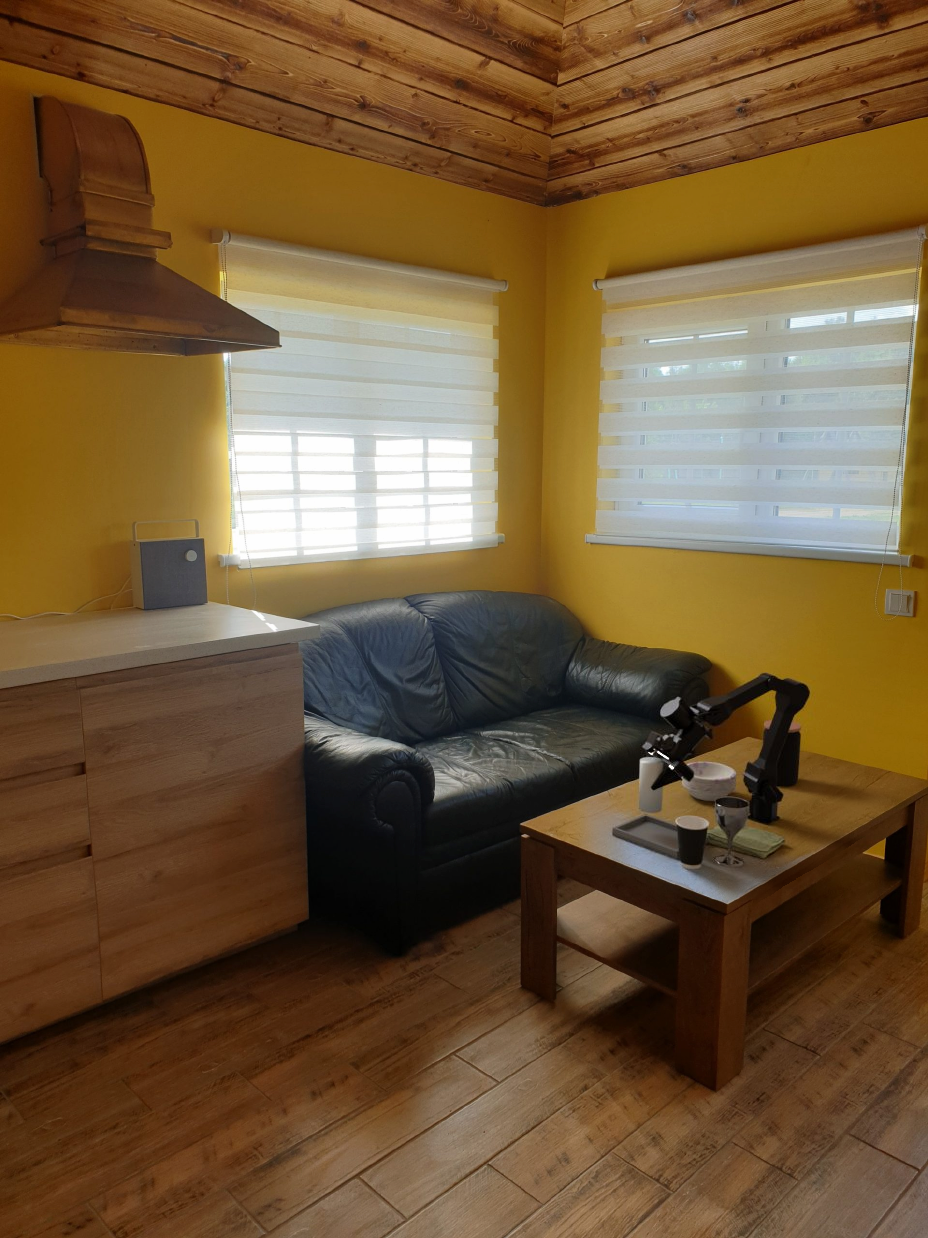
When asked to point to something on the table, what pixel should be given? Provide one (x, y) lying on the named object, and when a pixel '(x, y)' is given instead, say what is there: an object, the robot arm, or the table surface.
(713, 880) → the table surface
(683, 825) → the dixie cup
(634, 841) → the tray
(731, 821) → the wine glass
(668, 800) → the table surface
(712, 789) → the paper bowls
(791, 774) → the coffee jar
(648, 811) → the white cylinder
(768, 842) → the washcloth
